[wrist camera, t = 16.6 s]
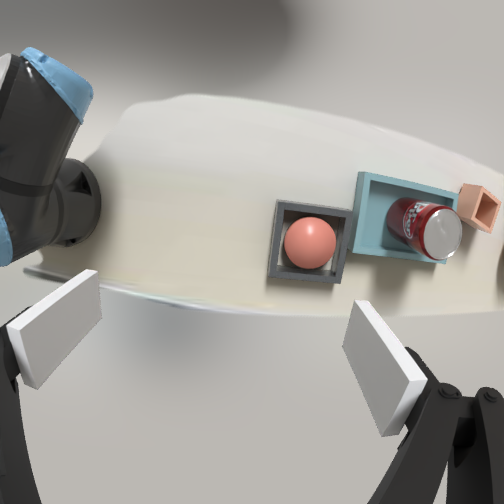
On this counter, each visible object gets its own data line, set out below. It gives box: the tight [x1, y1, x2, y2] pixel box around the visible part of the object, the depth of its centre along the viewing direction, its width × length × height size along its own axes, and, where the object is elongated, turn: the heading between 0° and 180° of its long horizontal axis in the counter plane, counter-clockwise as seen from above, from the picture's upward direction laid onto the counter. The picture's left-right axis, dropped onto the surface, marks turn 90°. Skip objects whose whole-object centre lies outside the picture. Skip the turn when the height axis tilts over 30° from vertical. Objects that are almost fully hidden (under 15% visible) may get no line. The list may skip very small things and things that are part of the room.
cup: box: [456, 184, 501, 234], centre depth 41 cm, size 6×6×6 cm
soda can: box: [386, 197, 462, 261], centre depth 38 cm, size 7×7×12 cm
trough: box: [348, 172, 459, 264], centre depth 43 cm, size 18×12×3 cm, turn 84°
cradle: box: [268, 200, 353, 284], centre depth 44 cm, size 11×11×3 cm
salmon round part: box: [284, 216, 336, 269], centre depth 45 cm, size 8×8×2 cm
